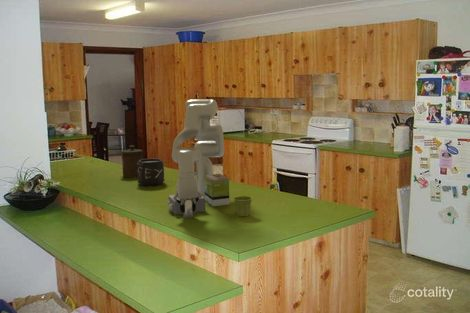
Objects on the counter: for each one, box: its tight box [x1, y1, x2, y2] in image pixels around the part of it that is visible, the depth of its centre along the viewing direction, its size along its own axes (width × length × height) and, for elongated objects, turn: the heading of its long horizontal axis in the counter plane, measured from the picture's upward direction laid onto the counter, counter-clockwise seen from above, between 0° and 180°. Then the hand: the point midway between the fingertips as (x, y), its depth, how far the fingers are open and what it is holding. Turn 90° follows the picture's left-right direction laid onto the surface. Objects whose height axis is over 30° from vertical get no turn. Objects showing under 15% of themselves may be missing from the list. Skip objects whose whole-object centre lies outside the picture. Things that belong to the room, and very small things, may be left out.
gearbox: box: [166, 194, 206, 216], centre depth 261 cm, size 18×14×10 cm
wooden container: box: [121, 144, 144, 178], centre depth 359 cm, size 15×15×22 cm
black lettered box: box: [137, 158, 165, 188], centre depth 328 cm, size 18×18×16 cm
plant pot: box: [233, 195, 253, 217], centre depth 248 cm, size 9×9×9 cm
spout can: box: [182, 198, 194, 219], centre depth 247 cm, size 5×5×10 cm
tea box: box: [204, 173, 231, 207], centre depth 275 cm, size 15×10×15 cm, turn 21°
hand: (188, 211), depth 247 cm, fingers closed on spout can, 4 cm apart
